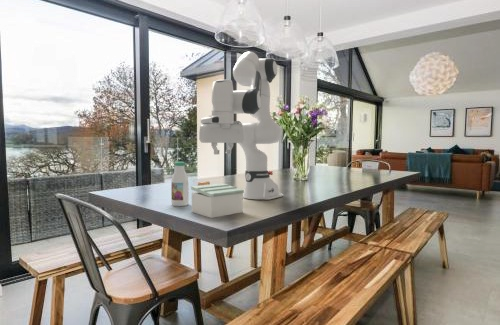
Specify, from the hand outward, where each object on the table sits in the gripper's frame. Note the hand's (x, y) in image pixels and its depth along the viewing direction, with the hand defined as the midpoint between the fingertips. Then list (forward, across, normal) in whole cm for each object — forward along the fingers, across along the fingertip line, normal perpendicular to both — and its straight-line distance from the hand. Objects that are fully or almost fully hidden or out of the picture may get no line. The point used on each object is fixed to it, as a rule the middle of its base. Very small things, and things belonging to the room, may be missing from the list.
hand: (222, 154), depth 132 cm
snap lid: (+16, 0, +4) cm, 17 cm away
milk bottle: (+24, +4, -27) cm, 37 cm away
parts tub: (+24, 0, -4) cm, 25 cm away
